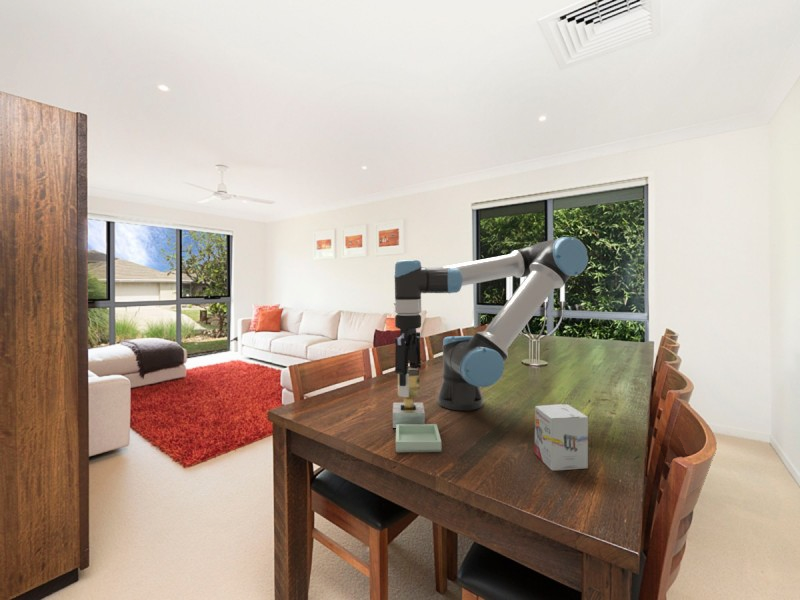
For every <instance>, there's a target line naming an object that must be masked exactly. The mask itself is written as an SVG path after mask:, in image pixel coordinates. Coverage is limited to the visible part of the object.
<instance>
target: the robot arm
mask: <svg viewBox="0 0 800 600" xmlns="http://www.w3.org/2000/svg"><path fill="white" fill-rule="evenodd" d="M588 263H589V256H588V250H587V248H586V246H585V244H584V243H583V242H582V241H581V240H580V239H578V238H577V237H572V236H562V237H559V238H557V239H551V240H546V241H545V240H544V241H541V242H538V243H534V244H532V245H529V246H525V247H523V248H520V249H519V248H518V249H515V250H512V251H511V252H510V253H508V254H504V255H498V256H493V257H488V258H487V257H486V258H482V259H478V260H477V259H476V260H472V261H471V260H470V261H465V262H461V263H456V264H449V265H445V266H441V267H422V263H421V261H420V260H417V259H416V260H415V259H412V260H411V259H405V260H403V259H402V260H398V261H397V262H396V263H395V264H394V265H395V266H394V276H393V277H394V299H395V300H394V303H393V305H394V308H395V310H394V311H395V314H396V315H395V316H394V320H395V321H394V322H395V323H394V326H395V328H397V329H399V330H400V331H399V337H395V338H394V345H395V353H394V354H395V359H394V360H395V361H394V362H395V363H394V366H395V367H394V372H395V374H396V375H398V374H399V396H398V397H400V398H403V397H409V374H407V371H408V370H418V371H419V369H421V368H422V364H421V362H422V361H421V359H422V358H421V332H419V331H417V329H421V327H422V316H421V313H422V294H454V293H459V292H460V291H461V289H462V287H465V286H468V285H469V286H470V285H474V284H478V283H485V282H490V281H494V280H499V279H505V278H510V277H514V278H516V279H520V278H524V280H523V281H522V283H521V284H519V286H518V287H517V288H516V290H514V293H512V294H511V296H510V297H509V299H508V300H507V301H506V303H505V304H504V305H503V307H502V308H501V309H500V310H499V312H498V313H497V314H496V315H495V317H494V318H493V319H492V320H491V321H490V323H489V324H488V326H487V327H486V328H485V329H484V330H483V331H477V332H475V334H474V335H457V336H456V335H454V336H452V335H451V336H446V337H444V338H443V340H442V341H443V342H442V382H441V385H440V387H439V391H438V393H437V394H438V395H437V405H439V406H440V405H441V406H440V407H442V406H443V407H442V408H444V407H445V409H448V410H453V411H462V412H463V411H465V412H466V411H474V410H478V409H480V408H482V407H483V406H484V398H483V394H482V390H481V388H486V387H490V386H493V385H495V384H496V383H498V381H499V380H501V378H502V376H503V374H504V371H505V367H504V366H505V361H506V360H507V359H508V358H509V353H508V350H509V347H510V346H511V345H512V343H513V342H514V341H515V340H516V338H517V337H518V336H519V334H520V333H521V332H522V331H523V330H524V328H525V327H526V326H527V324H528V323H529V322H530V320H531V319H532V318H533V316H534V315H535V314H536V313H537V312H538V310H539V309H540V308H541V307H542V305H543V304H544V302H545V301H546V300H547V299H548V297H549V296H550V295H551V293H552V292H553V291H554V290H555V289H561V288H563V286H564V285H566V283H567V282H568V280H569V279H570V278H571V277H575V276H578V275H580V274H581V273H583V272H584V271H585V269H586V267H587V266H588Z"/></svg>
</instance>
